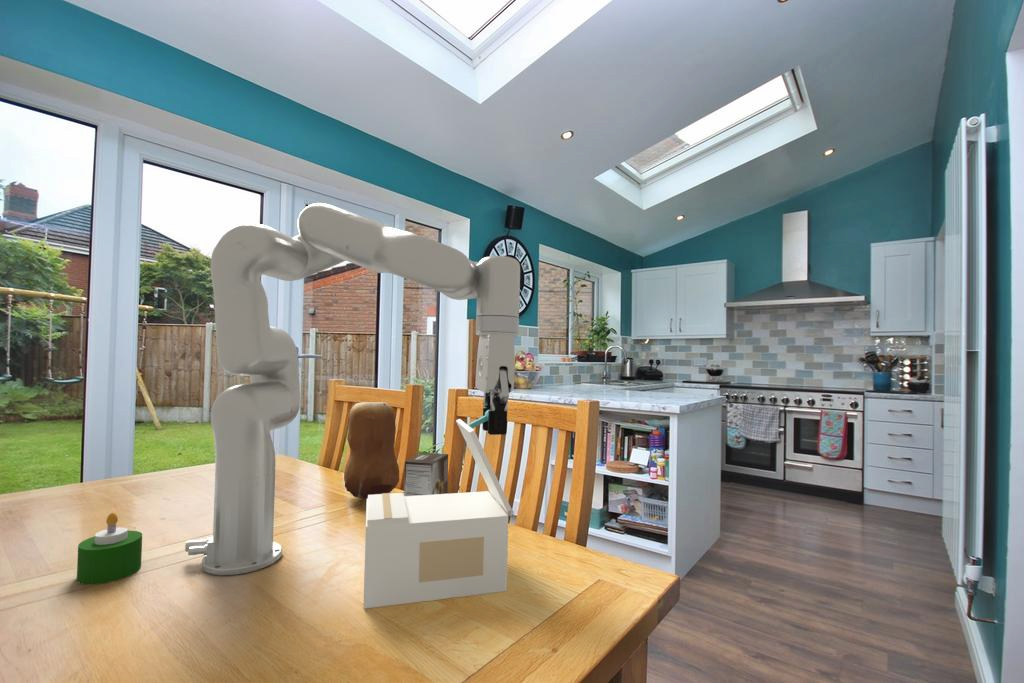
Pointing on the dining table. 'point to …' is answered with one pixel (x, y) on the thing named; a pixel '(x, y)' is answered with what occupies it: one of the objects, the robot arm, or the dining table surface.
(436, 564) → the carton
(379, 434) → the butternut squash
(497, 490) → the flap
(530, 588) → the dining table surface
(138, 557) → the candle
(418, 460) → the coffee box
